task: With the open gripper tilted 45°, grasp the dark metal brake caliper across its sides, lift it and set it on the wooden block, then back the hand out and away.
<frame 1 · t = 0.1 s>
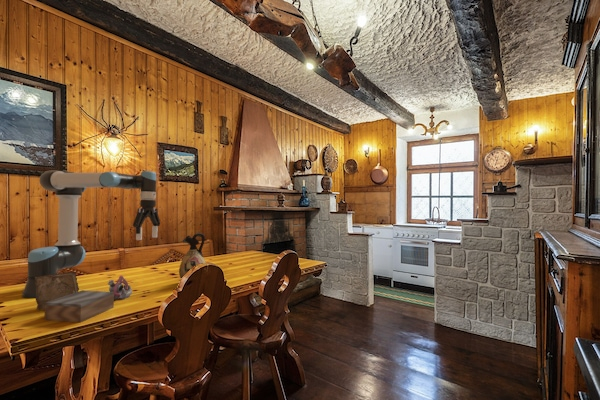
hand: (147, 238, 159), 28 cm above the table, tool pointing down, fingers open, 13 cm apart
mineral sample: (57, 308, 131), on the table
wooden block: (81, 313, 124), on the table
brake caliper: (119, 298, 146), on the table
ceramic jug: (194, 283, 172), on the table
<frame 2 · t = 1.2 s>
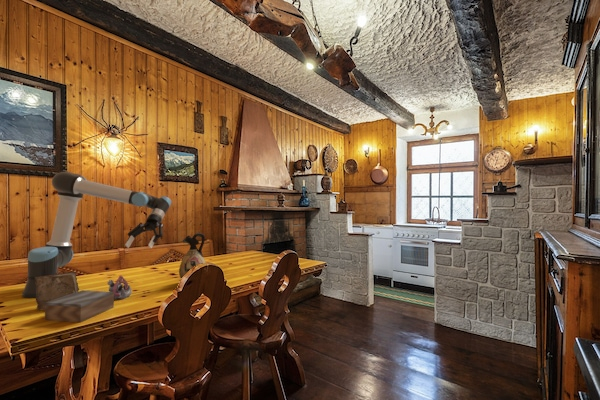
hand: (138, 246, 159), 24 cm above the table, tool tilted 45°, fingers open, 13 cm apart
nothing on the table moved.
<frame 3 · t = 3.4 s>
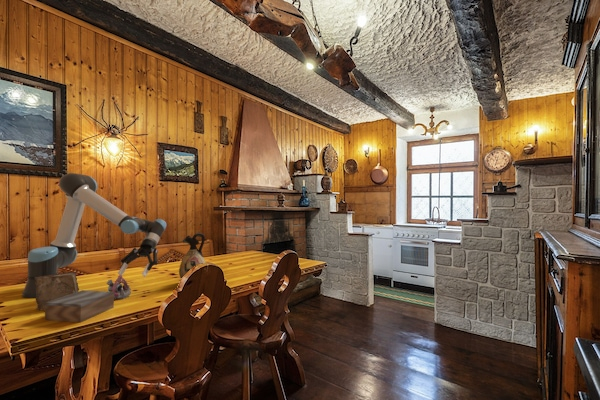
hand: (131, 275, 152), 10 cm above the table, tool tilted 45°, fingers open, 13 cm apart
nothing on the table moved.
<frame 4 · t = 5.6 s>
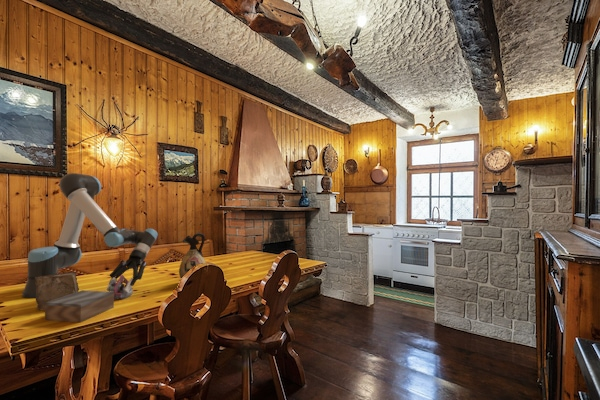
hand: (117, 290, 144), 4 cm above the table, tool tilted 45°, fingers closed on brake caliper, 9 cm apart
brake caliper: (120, 297, 146), on the table, touching gripper
everything else where it was.
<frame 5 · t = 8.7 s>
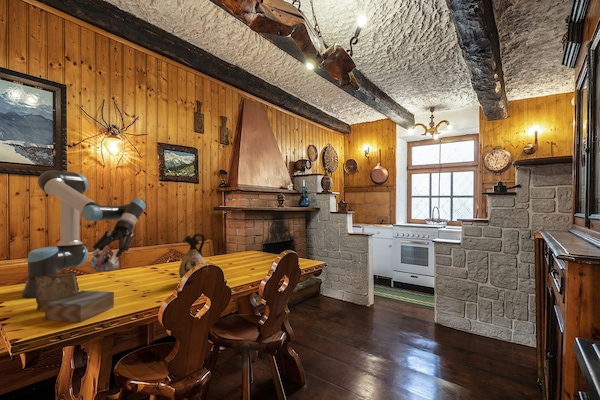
hand: (101, 262, 132), 20 cm above the table, tool tilted 45°, fingers closed on brake caliper, 9 cm apart
brake caliper: (105, 270, 134), point 16 cm above the table, touching gripper
everything else where it was.
when the fingers open (12 cm above the table, at t = 11.9 s): brake caliper stays where it is, resting on wooden block.
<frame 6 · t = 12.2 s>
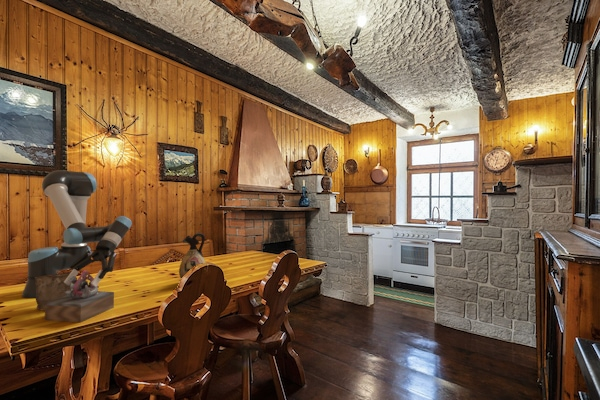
hand: (79, 284, 123), 12 cm above the table, tool tilted 45°, fingers open, 12 cm apart
brake caliper: (83, 296, 125), point 7 cm above the table, touching wooden block
everything else where it was.
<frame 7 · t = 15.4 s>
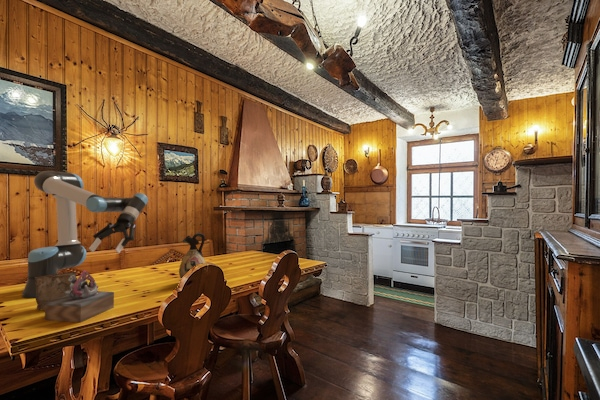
hand: (104, 251, 136), 25 cm above the table, tool tilted 45°, fingers open, 13 cm apart
nothing on the table moved.
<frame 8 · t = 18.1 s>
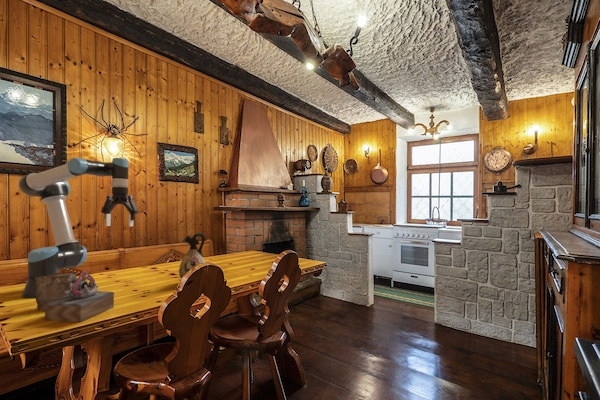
hand: (119, 226, 157), 35 cm above the table, tool pointing down, fingers open, 13 cm apart
nothing on the table moved.
at the end: brake caliper inside the target area on the wooden block (1.0 cm from its centre), point 6.8 cm above the wooden block's base; brake caliper tilted 0°; the gripper is holding nothing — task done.
